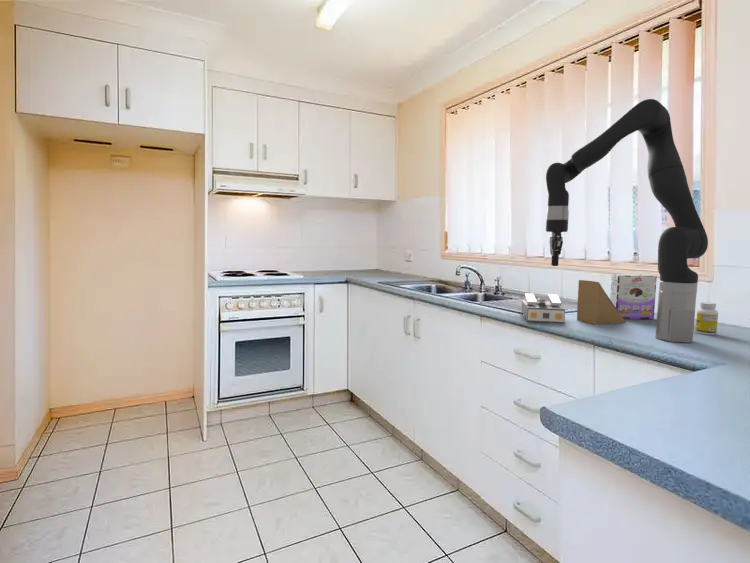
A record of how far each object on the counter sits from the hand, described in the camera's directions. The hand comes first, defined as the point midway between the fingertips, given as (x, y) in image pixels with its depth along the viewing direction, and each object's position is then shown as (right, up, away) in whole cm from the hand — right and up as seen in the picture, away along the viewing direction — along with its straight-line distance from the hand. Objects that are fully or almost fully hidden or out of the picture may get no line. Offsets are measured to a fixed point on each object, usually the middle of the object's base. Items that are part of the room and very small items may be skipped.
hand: (554, 265), depth 165 cm
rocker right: (-1, -13, -2) cm, 13 cm away
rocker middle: (-5, -13, -1) cm, 14 cm away
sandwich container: (+15, -20, -5) cm, 26 cm away
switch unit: (-5, -19, -1) cm, 20 cm away
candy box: (+30, -20, +2) cm, 36 cm away
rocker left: (-9, -13, 0) cm, 16 cm away
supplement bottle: (+38, -23, -24) cm, 51 cm away
